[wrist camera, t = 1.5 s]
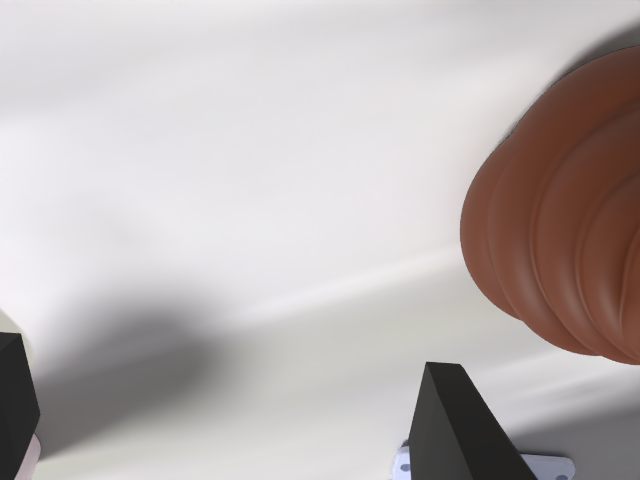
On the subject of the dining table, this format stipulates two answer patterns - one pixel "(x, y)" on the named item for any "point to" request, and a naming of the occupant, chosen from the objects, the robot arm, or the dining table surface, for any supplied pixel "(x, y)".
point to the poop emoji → (566, 213)
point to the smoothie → (29, 460)
